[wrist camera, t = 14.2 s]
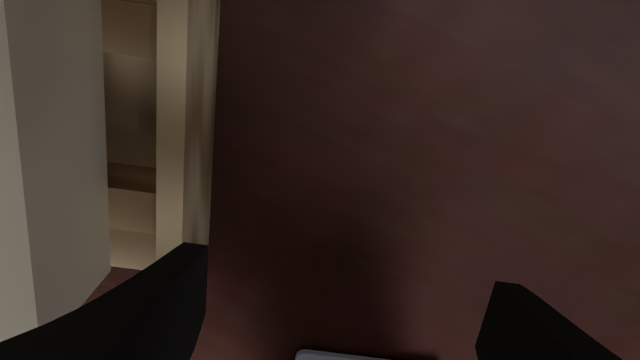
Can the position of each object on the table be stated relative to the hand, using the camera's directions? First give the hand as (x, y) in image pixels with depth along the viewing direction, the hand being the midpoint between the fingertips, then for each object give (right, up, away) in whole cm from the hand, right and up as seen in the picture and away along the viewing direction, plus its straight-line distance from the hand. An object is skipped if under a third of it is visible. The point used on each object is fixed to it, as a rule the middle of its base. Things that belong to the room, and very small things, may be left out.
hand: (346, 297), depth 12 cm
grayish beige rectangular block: (-10, +5, +6) cm, 13 cm away
